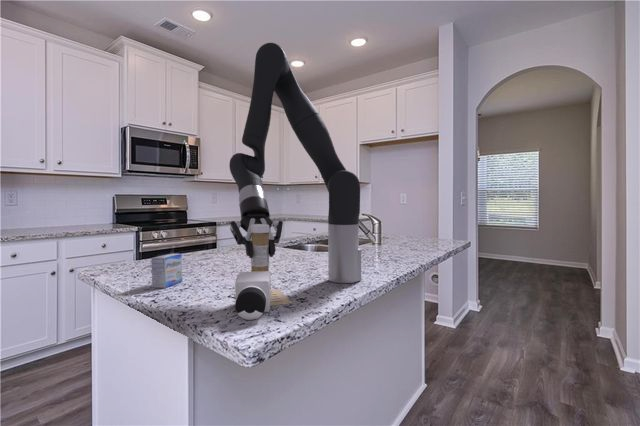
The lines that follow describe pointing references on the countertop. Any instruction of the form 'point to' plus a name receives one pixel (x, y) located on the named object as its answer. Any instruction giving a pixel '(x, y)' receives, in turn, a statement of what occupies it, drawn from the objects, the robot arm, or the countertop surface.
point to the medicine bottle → (252, 294)
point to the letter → (278, 298)
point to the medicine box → (166, 270)
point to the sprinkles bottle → (260, 247)
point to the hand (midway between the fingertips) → (261, 255)
